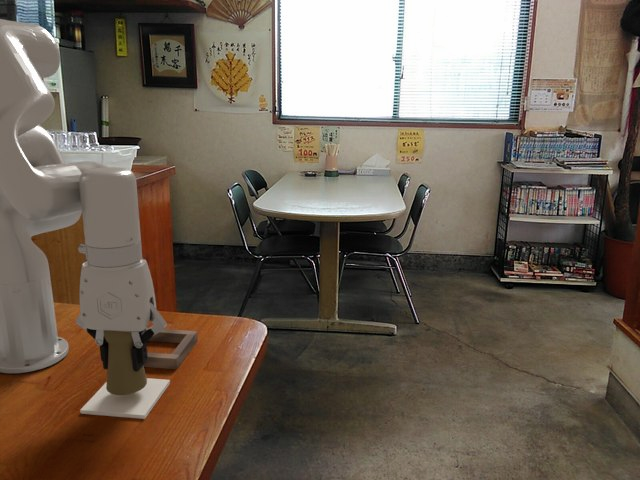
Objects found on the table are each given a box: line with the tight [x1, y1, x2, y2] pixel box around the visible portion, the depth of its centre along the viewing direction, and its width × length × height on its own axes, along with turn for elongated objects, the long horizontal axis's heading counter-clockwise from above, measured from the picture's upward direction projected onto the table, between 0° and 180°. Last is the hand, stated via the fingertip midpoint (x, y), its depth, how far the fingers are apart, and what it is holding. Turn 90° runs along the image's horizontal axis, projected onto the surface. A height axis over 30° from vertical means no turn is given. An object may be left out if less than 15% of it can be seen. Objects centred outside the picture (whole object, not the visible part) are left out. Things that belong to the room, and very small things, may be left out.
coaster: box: [79, 377, 171, 420], centre depth 83 cm, size 10×10×1 cm
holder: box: [143, 327, 199, 370], centre depth 98 cm, size 11×11×2 cm
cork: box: [104, 331, 147, 395], centre depth 81 cm, size 6×6×11 cm
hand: (125, 364), depth 82 cm, fingers closed on cork, 4 cm apart
